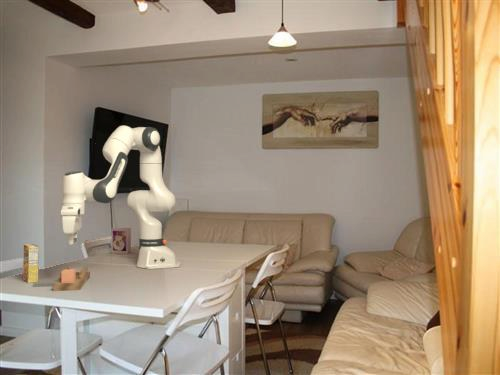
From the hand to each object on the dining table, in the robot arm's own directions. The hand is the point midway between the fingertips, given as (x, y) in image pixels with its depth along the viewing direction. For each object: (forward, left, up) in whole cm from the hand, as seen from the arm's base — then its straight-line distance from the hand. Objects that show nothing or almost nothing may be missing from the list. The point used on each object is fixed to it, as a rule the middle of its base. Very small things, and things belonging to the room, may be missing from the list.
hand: (72, 243), depth 179 cm
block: (0, +7, -15) cm, 16 cm away
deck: (0, -1, -17) cm, 17 cm away
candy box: (+19, -9, -17) cm, 27 cm away
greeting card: (-13, -84, -17) cm, 87 cm away
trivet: (+10, -2, -17) cm, 20 cm away
